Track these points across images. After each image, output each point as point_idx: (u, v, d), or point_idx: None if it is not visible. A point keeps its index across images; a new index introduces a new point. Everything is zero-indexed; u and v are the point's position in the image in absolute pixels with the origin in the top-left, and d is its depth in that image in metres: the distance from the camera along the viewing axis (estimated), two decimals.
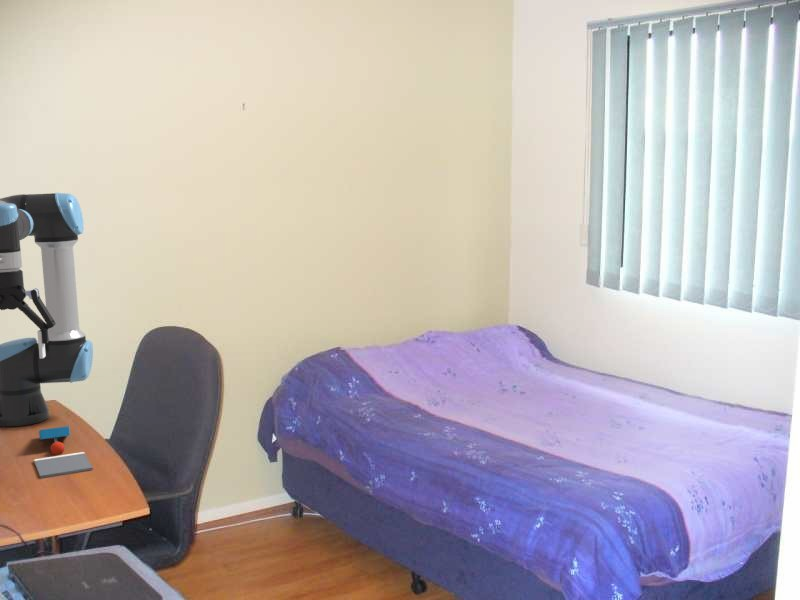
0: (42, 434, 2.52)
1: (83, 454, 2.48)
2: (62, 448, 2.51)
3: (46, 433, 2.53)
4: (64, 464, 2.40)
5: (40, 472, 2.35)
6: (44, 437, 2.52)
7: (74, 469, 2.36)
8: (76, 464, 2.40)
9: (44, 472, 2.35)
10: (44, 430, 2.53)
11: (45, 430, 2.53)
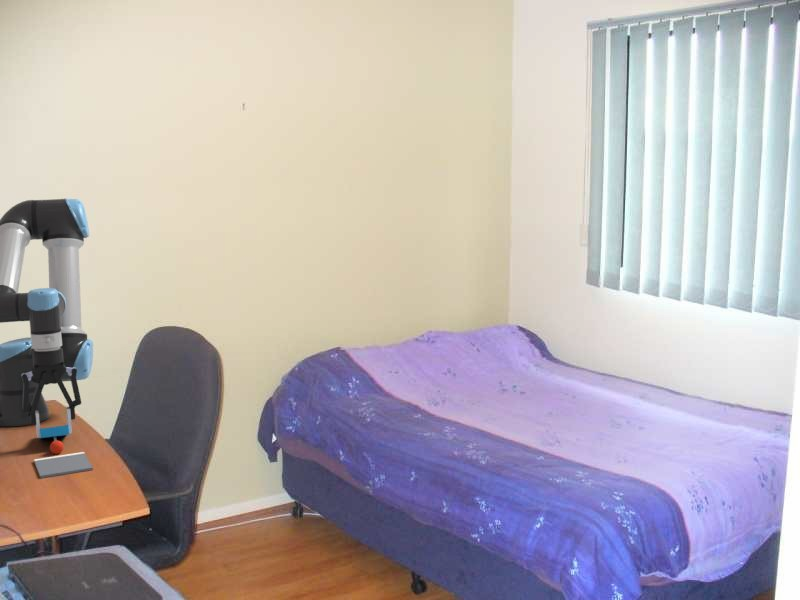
0: (41, 432, 2.53)
1: (83, 454, 2.48)
2: (61, 447, 2.51)
3: (45, 432, 2.53)
4: (64, 464, 2.40)
5: (40, 472, 2.35)
6: (43, 436, 2.53)
7: (74, 469, 2.36)
8: (76, 464, 2.40)
9: (44, 472, 2.35)
10: (43, 429, 2.53)
11: (44, 429, 2.53)
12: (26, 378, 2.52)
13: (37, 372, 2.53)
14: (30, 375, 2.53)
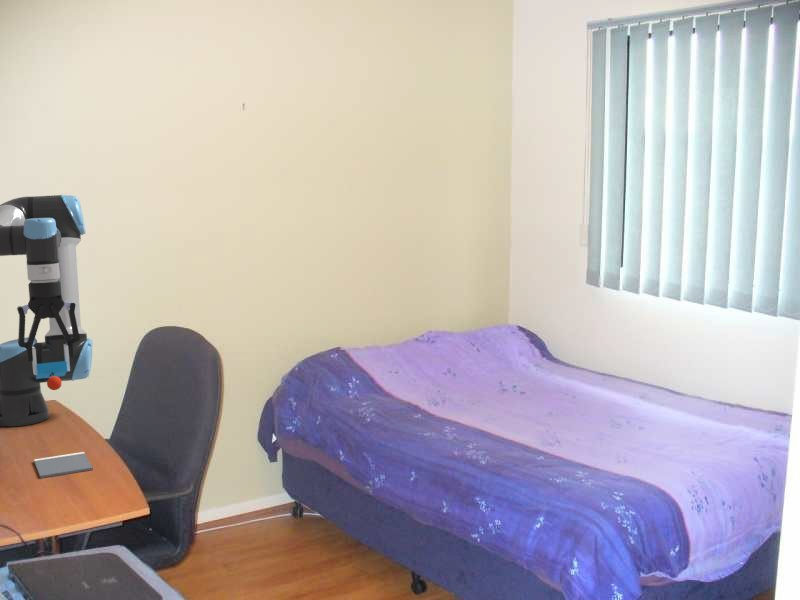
0: (38, 368, 2.40)
1: (83, 454, 2.48)
2: (59, 382, 2.38)
3: (42, 368, 2.41)
4: (64, 464, 2.40)
5: (40, 472, 2.35)
6: (40, 372, 2.40)
7: (74, 469, 2.36)
8: (76, 464, 2.40)
9: (44, 472, 2.35)
10: (40, 364, 2.40)
11: (41, 364, 2.41)
12: (22, 311, 2.40)
13: (34, 305, 2.41)
14: (26, 308, 2.41)
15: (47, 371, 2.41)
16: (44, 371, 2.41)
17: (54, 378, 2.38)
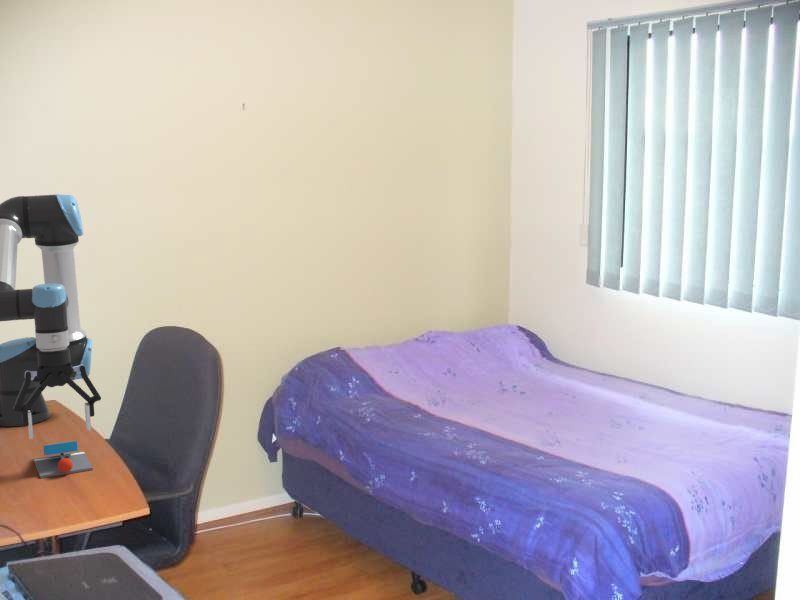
0: (48, 450, 2.35)
1: (83, 454, 2.48)
2: (70, 465, 2.34)
3: (53, 449, 2.36)
4: None
5: (40, 472, 2.35)
6: (50, 453, 2.35)
7: (74, 469, 2.36)
8: (76, 464, 2.40)
9: (44, 472, 2.35)
10: (50, 446, 2.36)
11: (51, 446, 2.36)
12: (29, 376, 2.34)
13: (42, 374, 2.36)
14: (34, 375, 2.35)
15: (57, 452, 2.36)
16: (54, 452, 2.36)
17: (65, 461, 2.33)
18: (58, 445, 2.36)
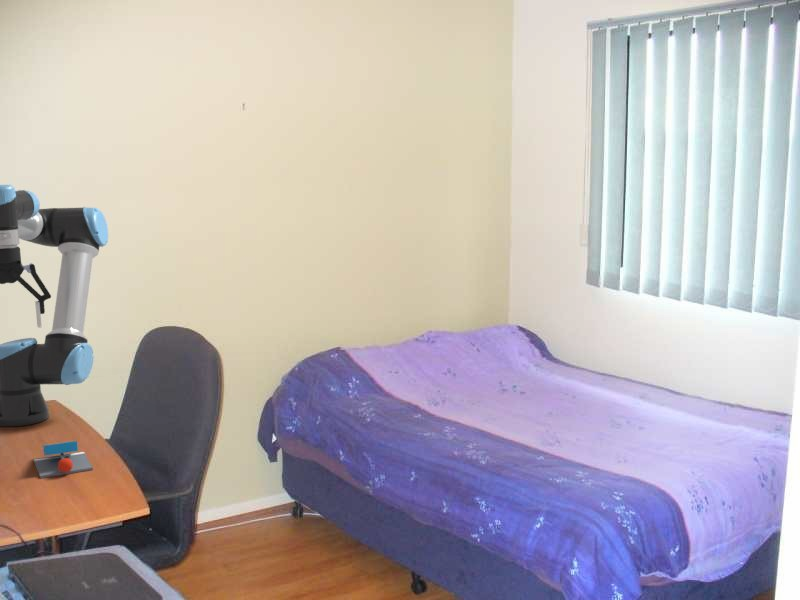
0: (48, 450, 2.35)
1: (83, 454, 2.48)
2: (70, 465, 2.34)
3: (53, 449, 2.36)
4: None
5: (40, 472, 2.35)
6: (50, 453, 2.35)
7: (74, 469, 2.36)
8: (76, 464, 2.40)
9: (44, 472, 2.35)
10: (50, 446, 2.36)
11: (51, 446, 2.36)
12: None
13: None
14: None
15: (57, 452, 2.36)
16: (54, 452, 2.36)
17: (65, 461, 2.33)
18: (58, 445, 2.36)
